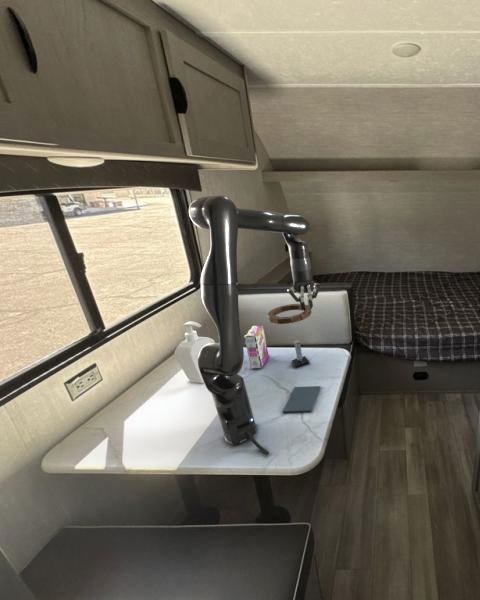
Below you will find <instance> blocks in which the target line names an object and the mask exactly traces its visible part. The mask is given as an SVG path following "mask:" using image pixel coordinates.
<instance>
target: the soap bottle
mask: <svg viewBox="0 0 480 600" xmlns="http://www.w3.org/2000/svg"><path fill="white" fill-rule="evenodd" d="M184 326H185V331H186V332H185V333H184V337H185V339H183V340H182V341H181V342H179V344H178V345H177V346H176V348H175V350H174V354H173V356H174V358H175V359H176V361H177V363H178V365H179V366H180V368H181V369H182V372H184V375H185V376H186V378H187V379H188V382H190V383H195V384H196V383H197V384H199V383H200V384H205V383H204V381H203V378H202V376H201V373H200V370H199V367H198V355H199V352H200V350H201V349H202V348H203V347H204V346H205V345H207V344H209V343H216V342H215V340H214V339H213V338H211V337H206V336H198V333H197V330H194V329H193V327H196V328H198V329H199V328H201V327H202V326H203V325H201V323H198V322H196V321H191V320H189V321H187V322H185V323H183V324H181V325H179V327H180V328H182V327H184Z"/></svg>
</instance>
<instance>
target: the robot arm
mask: <svg viewBox="0 0 480 600" xmlns="http://www.w3.org/2000/svg"><path fill="white" fill-rule="evenodd" d="M188 215H189V218H190V220H191V221H192V223H193V224H194V225H195V226H196V227H198V228H199V229H202V230H205V231H210V233H209V234H210V248H209V249H210V250H209V253H208V256H207V258H206V261H205V263H204V266H203V268H202V271H201V276H200V291H201V292H200V293H201V301H202V304H203V306H204V308H205V310H206V312H207V315H208V316H209V317H210V318H211V320H212V322H213V323H214V325H215V327H216V330H217V334H218V342H215V343H209V344H207V345H205V346H204V347H203V348H202V349H201V350H200V352H199V355H198V367H199V370H200V373H201V376H202V378H203V381H204V383H203V384H204V385H205V388H206V389H207V391H208V392H209V393H210V394H211V397H212V400H213V403H214V406H215V409H216V412H217V416H218V419H219V422H220V426H221V429H222V432H223V435H224V439H225V442H226V443H227V444H229V445H232V447H235V446H238V445H240V444H243V443H245V442H248V441H251V443H252V444H253V445H254V446H255V447H256V448H257V449H258V450H259V451H261V453H264V454H265V455H266V456H269V454H270V451H268V450H267V449H265V447H263V446H262V445H261V444H260V443H259V442H258V441H257V440H256V439H255V437H254V436H255V435H256V434H257V429H258V427H257V424H256V421H255V417H254V413H253V409H252V407H251V402H250V398H249V394H248V391H247V386H246V382H245V379H244V378H243V376H242V375H240V374H239V373H240V372H241V370H242V368H243V366H244V361H245V351H244V344H243V338H242V330H241V322H240V309H239V307H240V306H239V280H238V279H239V278H238V255H237V253H238V252H237V251H238V247H237V246H238V233H239V230H240V229H241V230H249V231H257V232H264V233H274V234H280V233H281V234H282V236H283V238H284V241H285V243H286V244H287V247H288V253H289V264H290V265H289V266H290V271H291V277H292V286H291V287H290V288H287V289H286V292H287V293H288V294H289V295H290V296H291V298H292V299H293V300H294V301H295V302H296V303H299V304H300V307H301V309H302V310H303V311H302V310H301V311H302V312H304V311H305V305H306V304H305V298H304V297H305V294H306V297H307V305H308V306H309V307H311V310H312V309H313V307H314V304H313V300H314V299H317V298H318V294H319V292H320V289H321V288H322V287H321V284H320V283H319V282H315V281H314V279H313V272H312V263H311V258H310V253H309V247H308V243H307V242H306V241H305V240H303V239H301V238H300V236H303V235H306V234H307V233H308V232H309V230H310V227H311V225H310V221H309V220H308V218H306V217H305V216H303V215H299V214H287V213H282V212H277V211H272V210H266V209H255V208H254V209H253V208H252V209H251V208H240V207H237V205H236V204H235V203H234V201H233V200H232V199H231V198H230V197H228V196H225V195H211V196H203V197H199V198H196V199H195V200H193V201H192V202H191V203H190V205H189V207H188ZM295 291H296V292H297V293H298V297H297V295H296V294H295Z"/></svg>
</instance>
